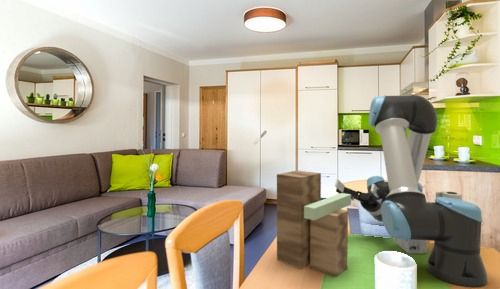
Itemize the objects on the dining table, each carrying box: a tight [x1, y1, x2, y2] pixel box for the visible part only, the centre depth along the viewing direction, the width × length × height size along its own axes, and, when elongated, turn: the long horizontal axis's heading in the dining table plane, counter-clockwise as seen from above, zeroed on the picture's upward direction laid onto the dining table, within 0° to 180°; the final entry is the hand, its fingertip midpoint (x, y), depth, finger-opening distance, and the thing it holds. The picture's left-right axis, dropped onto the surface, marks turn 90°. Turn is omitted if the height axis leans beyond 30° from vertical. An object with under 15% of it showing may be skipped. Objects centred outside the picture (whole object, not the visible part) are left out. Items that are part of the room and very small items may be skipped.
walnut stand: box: [276, 170, 349, 278], centre depth 97 cm, size 12×20×30 cm, turn 46°
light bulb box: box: [394, 238, 427, 255], centre depth 110 cm, size 11×7×11 cm, turn 179°
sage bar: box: [304, 193, 352, 220], centre depth 94 cm, size 24×4×4 cm, turn 136°
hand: (353, 184), depth 107 cm, fingers open, 13 cm apart
